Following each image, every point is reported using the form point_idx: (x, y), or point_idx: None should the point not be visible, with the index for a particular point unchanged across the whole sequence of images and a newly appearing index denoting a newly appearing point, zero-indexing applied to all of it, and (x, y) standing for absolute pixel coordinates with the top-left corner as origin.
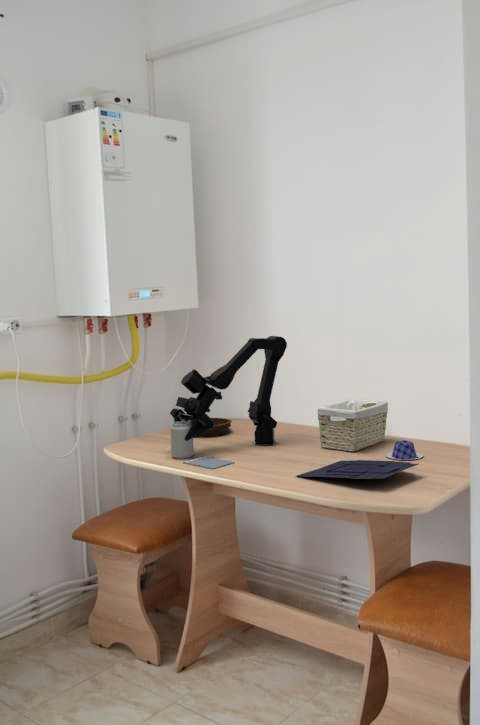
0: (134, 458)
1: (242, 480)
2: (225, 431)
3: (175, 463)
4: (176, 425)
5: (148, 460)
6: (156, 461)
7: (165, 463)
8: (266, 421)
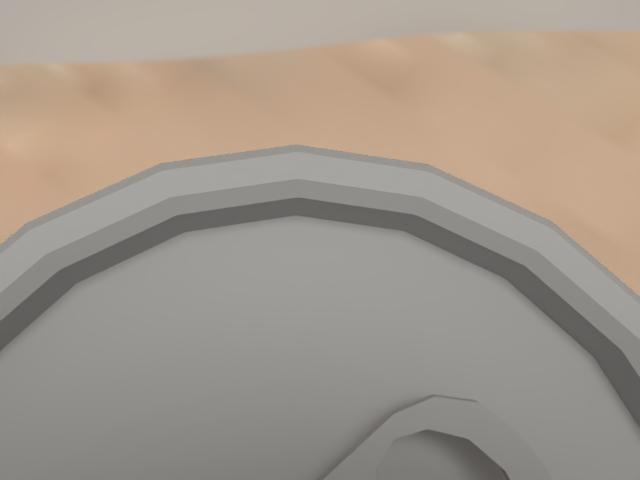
0: (633, 53)
1: None
2: None
3: (81, 197)
4: (166, 191)
5: (447, 91)
6: (341, 117)
7: (181, 125)
8: None
